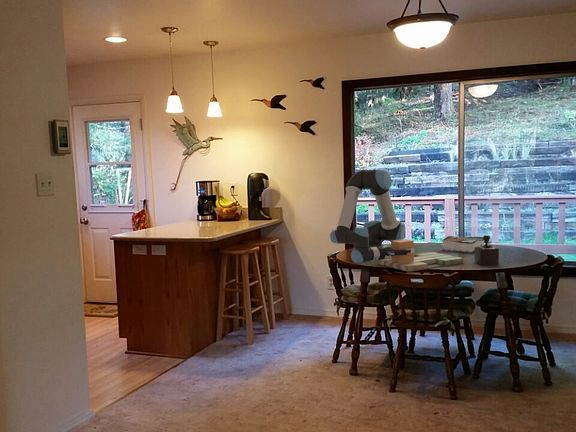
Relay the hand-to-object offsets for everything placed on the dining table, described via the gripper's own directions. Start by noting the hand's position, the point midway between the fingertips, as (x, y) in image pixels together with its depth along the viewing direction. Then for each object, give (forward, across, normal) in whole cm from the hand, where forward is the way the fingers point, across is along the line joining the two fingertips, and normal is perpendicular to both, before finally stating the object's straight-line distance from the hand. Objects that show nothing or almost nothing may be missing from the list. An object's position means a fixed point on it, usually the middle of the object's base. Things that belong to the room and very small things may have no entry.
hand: (408, 249), depth 324 cm
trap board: (+9, 0, -10) cm, 13 cm away
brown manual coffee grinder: (+37, +25, -10) cm, 46 cm away
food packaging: (+62, -22, -10) cm, 67 cm away
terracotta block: (-4, 0, -7) cm, 8 cm away
